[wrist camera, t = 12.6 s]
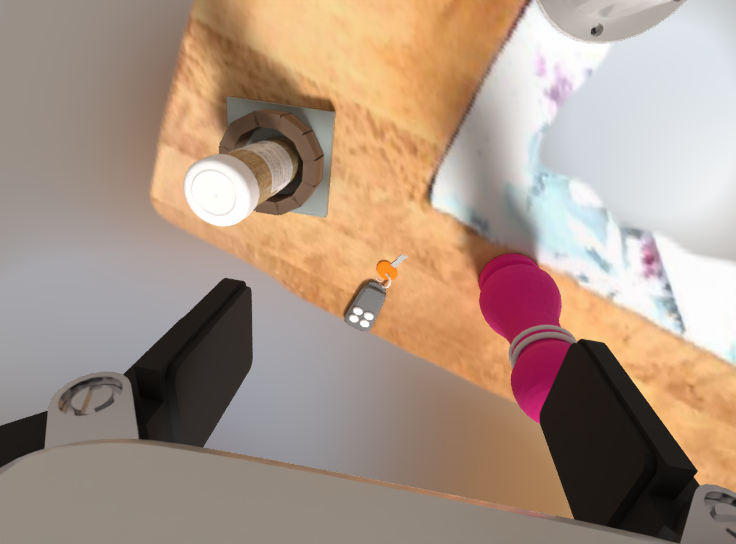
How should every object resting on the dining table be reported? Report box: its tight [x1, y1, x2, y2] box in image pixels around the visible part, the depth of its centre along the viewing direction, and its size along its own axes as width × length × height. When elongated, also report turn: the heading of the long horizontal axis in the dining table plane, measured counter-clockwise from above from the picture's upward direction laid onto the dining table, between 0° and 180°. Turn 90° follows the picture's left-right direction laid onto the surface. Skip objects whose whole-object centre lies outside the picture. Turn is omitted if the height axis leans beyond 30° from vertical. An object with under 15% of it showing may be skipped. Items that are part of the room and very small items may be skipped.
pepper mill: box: [479, 254, 577, 423], centre depth 31 cm, size 7×7×20 cm
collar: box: [219, 97, 335, 218], centre depth 36 cm, size 10×10×4 cm
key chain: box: [344, 254, 408, 331], centre depth 42 cm, size 13×4×2 cm, turn 155°
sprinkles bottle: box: [184, 136, 303, 226], centre depth 31 cm, size 5×5×13 cm
